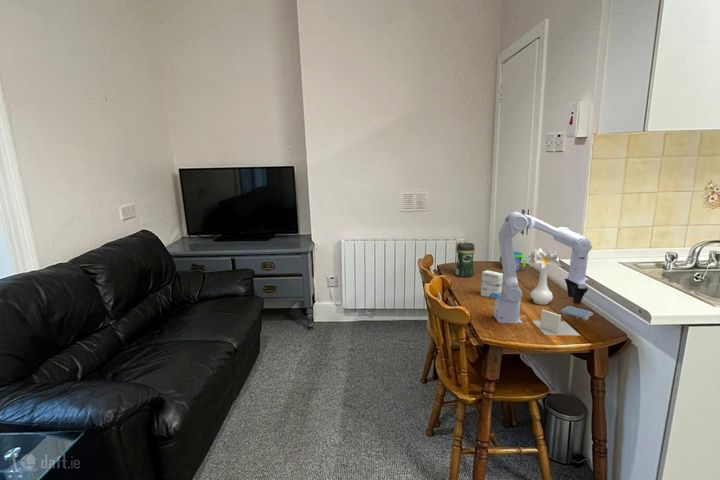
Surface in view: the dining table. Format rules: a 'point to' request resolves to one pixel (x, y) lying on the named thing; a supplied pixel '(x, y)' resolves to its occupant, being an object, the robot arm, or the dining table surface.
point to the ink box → (491, 284)
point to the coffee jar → (465, 259)
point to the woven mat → (577, 312)
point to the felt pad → (564, 329)
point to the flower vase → (542, 275)
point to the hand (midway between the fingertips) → (573, 300)
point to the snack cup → (517, 260)
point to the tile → (550, 321)
